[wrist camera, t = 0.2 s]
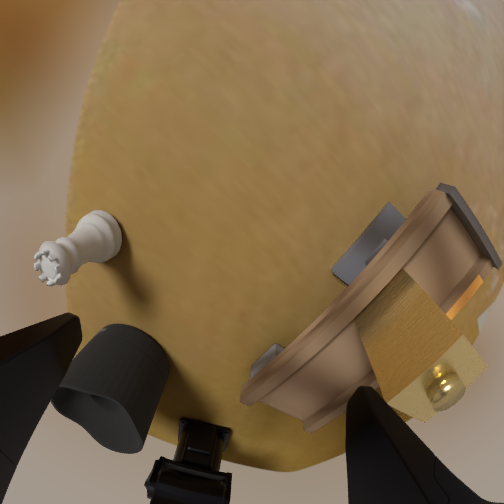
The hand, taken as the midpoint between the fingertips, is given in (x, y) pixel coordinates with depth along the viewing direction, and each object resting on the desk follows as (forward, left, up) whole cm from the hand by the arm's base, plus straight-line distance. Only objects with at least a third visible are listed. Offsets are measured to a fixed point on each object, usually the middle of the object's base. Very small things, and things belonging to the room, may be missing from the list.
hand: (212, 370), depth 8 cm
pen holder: (-16, +10, -15) cm, 24 cm away
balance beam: (-4, -11, -14) cm, 18 cm away
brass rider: (-2, -11, -11) cm, 16 cm away
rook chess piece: (-3, +13, -15) cm, 20 cm away
